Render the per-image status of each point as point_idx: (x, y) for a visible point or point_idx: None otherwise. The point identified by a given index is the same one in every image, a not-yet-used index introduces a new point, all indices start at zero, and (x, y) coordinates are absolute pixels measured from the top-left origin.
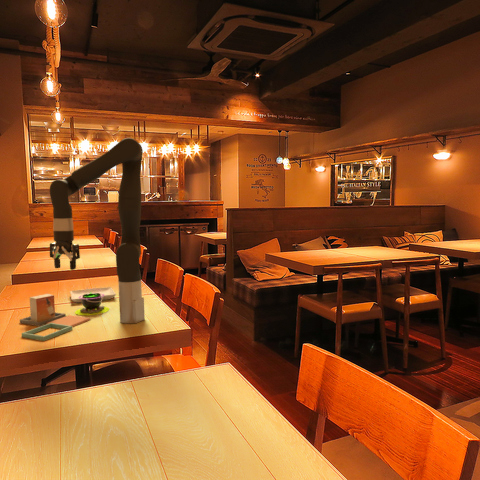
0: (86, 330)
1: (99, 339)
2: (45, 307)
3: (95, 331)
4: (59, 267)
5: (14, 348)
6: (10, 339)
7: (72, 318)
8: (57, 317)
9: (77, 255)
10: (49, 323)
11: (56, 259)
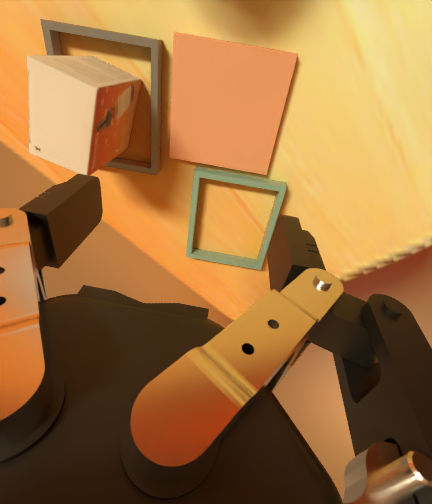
0: (335, 179)
1: (404, 238)
2: (114, 128)
3: (371, 183)
4: (97, 184)
5: (227, 300)
6: (175, 264)
7: (221, 81)
8: (158, 92)
9: (385, 340)
10: (195, 177)
11: (56, 260)
